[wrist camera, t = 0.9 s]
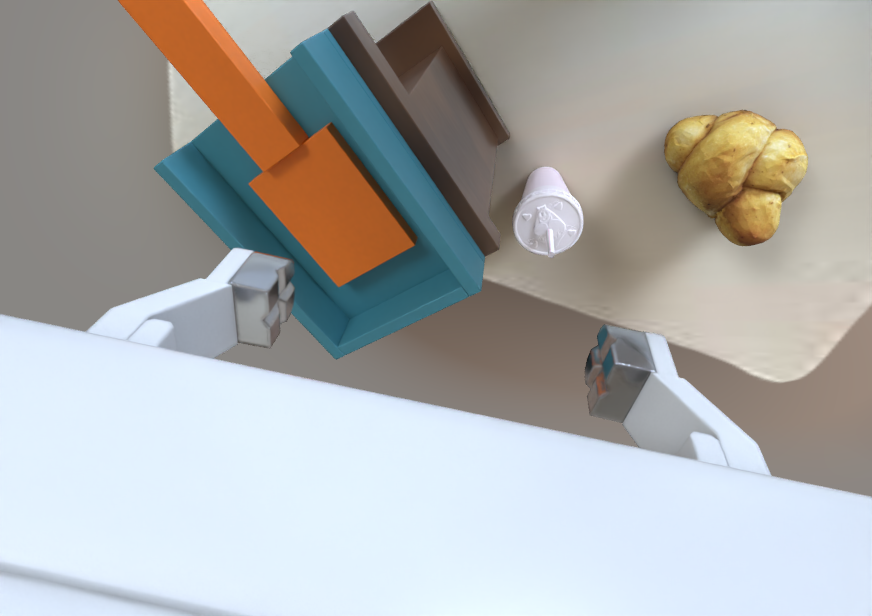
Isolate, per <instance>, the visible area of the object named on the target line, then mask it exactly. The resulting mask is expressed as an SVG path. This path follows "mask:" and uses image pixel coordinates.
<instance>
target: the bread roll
mask: <svg viewBox="0 0 872 616" xmlns="http://www.w3.org/2000/svg"><path fill="white" fill-rule="evenodd" d="M664 147H665V148H664V153H665V159H666V161H667V163H668V164H669V166H670V168H671V169H673V170H674V171H675V172H677V173H678V177H677V179H678V181H677V183H678V186H679V188H680V189H681V190H682V192H683V193H684V194H685V196H686V197H687V198H688V199H689V200H690V201H691V202H692V203H693V204H694V205H695V206H696V207H697V208H699V209H700V210H701V211H703V212H704V213H706V214H707V215H708V217H710V218H715V223H716V225H717V227H718V229H719V230H720V232H721V233H722V234H723V235H724V236H725V237H726V238H727V239H728V240H730V241H731V242H732V243H734V244H736V245H739V246H751V245H756V244H759V243H763V242H765V241H766V240H768V239H770V238H771V237H772V236H773V234H774V233H775V232H776V230H777V228H778V225H779V220H780V212H781V203H782V202H783V201H784V200H785V199H786V198H787V197H788V196H790V195H791V194H792V191H793V190H794V188H795V187H796V186H797V185H798V184H799V183H800V182H801V180H802V179H803V177H804V176H805V173H806V170H807V165H808V156H807V153H806V151H805V149H804V146H803V143H802V142H801V140H800V139H799V137H798V136H797V135H796V134H795V133H794V132H793V131H790V130H786V129H777V128H776V125H775V124H774V123H772V122H771V121H769V120H767V119H765V118H764V117H762V116H760V115H757V114H755V113H753V112H751V111H747V110H740V111H734V112H729V113H725V114H722V115H721V116H719V117H717V116H715V115H703V116H695V117H691V118H686V119H684V120H681V121H679V122H678V123H677V124H676V125H674V126H673V127H672V128H671V129H670V130H669V132H668V134H667V136H666V139H665V145H664Z"/></svg>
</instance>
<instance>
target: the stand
mask: <svg viewBox="0 0 872 616" xmlns="http://www.w3.org/2000/svg"><path fill="white" fill-rule="evenodd" d="M327 29H328V30H329V31H330V33H331V34H332V35H333V37H334V38H335V40H336V41H337V43H338V44H339V46H340V47H341V49H342V50H343V51H344V53H345V54H346V56H347V57H348V59H349V60H350V62H351V63H352V65H353V66H354V67H355V69H356V70H357V72H358V73H359V75H360V76H361V78H362V79H363V80H364V82H365V83H366V85H367V86H368V88H369V89H370V91H371V92H372V94H373V95H374V96H375V98H376V99H377V101H378V102H379V104H380V105H381V107H382V108H383V109H384V111H385V112H386V114H387V115H388V117H389V118H390V120H391V121H392V123H393V124H394V125H395V127H396V128H397V130H398V131H399V133H400V134H401V136H402V137H403V138H404V140H405V141H406V143H407V144H408V146H409V147H410V149H411V150H412V152H413V153H414V154H415V156H416V157H417V159H418V160H419V162H420V163H421V165H422V166H423V167H424V169H425V170H426V172H427V173H428V175H429V176H430V178H431V179H432V181H433V182H434V183H435V185H436V186H437V188H438V189H439V191H440V192H441V194H442V195H443V196H444V198H445V199H446V201H447V202H448V204H449V205H450V207H451V208H452V210H453V211H454V212H455V214H456V215H457V217H458V218H459V220H460V221H461V223H462V224H463V225H464V227H465V228H466V230H467V231H468V233H469V234H470V236H471V237H472V239H473V240H474V241H475V243H476V244H477V246H478V247H479V249H480V250H481V252H482V253H483V254H484V256H487V255H489V254H491V253H493V252H495V251H497V250H499V247H500V232H499V231H498V229H497V228H496V226H495V225H494V223H493V222H492V220H491V219H490V217H489V209H490V201H491V193H492V185H493V177H494V168H495V160H496V152H497V146H498V145H499V144H501V143H503V142H504V141H506V140H508V139H509V137H510V133H509V131H508V130H507V128H506V126H505V124H504V123H503V121H502V119H501V118H500V116H499V114H498V112H497V111H496V109H495V107H494V106H493V104H492V102H491V101H490V99H489V97H488V95H487V94H486V92H485V90H484V89H483V87H482V85H481V83H480V82H479V80H478V78H477V77H476V75H475V73H474V72H473V70H472V68H471V66H470V65H469V63H468V61H467V60H466V58H465V56H464V54H463V53H462V51H461V49H460V48H459V46H458V44H457V43H456V41H455V39H454V37H453V36H452V34H451V32H450V31H449V29H448V27H447V25H446V24H445V22H444V20H443V19H442V17H441V15H440V14H439V12H438V10H437V8H436V7H435V5H434V3H433V2H432V0H431V1H430V2H428V3H427V4H426V5H425V6H423V7H422V8H421V9H419V10H418V11H417V12H416V13H414V14H413V15H412V16H410V17H409V18H408V19H407V20H405V21H404V22H403V23H402V24H400V25H399V26H398V27H396V28H395V29H394V30H393V31H391V32H390V33H389V34H387V35H386V36H385V37H384V38H382V39H381V40H380V41H378V42H377V43H376V44H375V42H374V41H373V39H372V38H371V36H370V35H369V33H368V32H367V30H366V29H365V27H364V26H363V24H362V22H361V21H360V19H359V18H358V16H357V15H356V13H355V12H354V11H351V12H349V13H347V14H345V15H343V16H342V17H340V18H339V19H338V20H337V21H336V22H334V23H333V24H332V25H331V26H330V27H328V28H327Z"/></svg>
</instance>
